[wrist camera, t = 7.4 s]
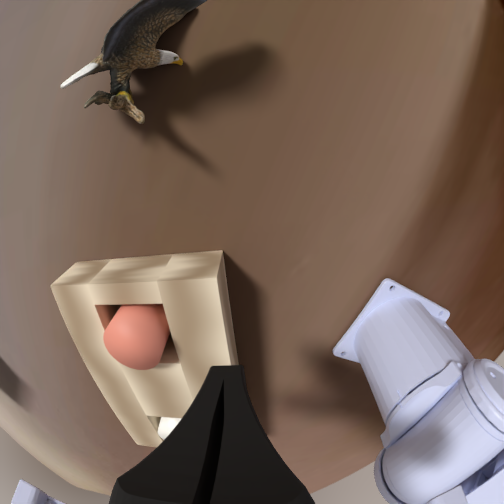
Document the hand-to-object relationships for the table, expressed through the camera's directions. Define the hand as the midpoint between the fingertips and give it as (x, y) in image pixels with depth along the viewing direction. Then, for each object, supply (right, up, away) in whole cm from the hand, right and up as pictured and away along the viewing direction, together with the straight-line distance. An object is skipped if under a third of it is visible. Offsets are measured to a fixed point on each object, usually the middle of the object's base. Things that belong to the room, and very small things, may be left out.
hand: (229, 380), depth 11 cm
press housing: (-6, -4, +12) cm, 14 cm away
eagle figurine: (-5, +19, +3) cm, 19 cm away
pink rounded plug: (-7, +1, +9) cm, 11 cm away
